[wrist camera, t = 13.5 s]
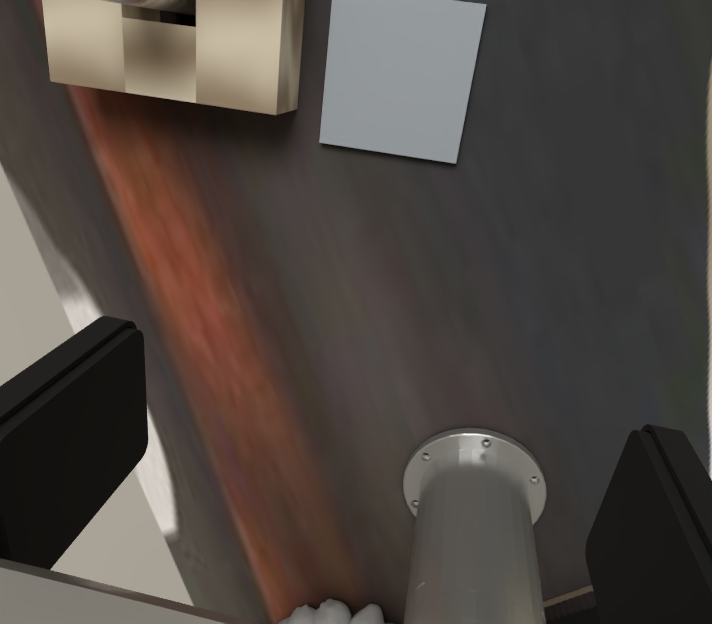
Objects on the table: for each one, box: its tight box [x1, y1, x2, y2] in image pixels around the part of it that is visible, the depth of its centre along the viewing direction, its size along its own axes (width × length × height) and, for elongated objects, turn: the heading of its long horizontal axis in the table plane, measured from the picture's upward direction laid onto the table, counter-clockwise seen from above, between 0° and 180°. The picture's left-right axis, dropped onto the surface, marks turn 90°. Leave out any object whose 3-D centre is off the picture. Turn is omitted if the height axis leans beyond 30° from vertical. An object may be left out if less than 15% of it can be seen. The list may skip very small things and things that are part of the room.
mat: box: [319, 0, 486, 164], centre depth 39 cm, size 10×10×1 cm
